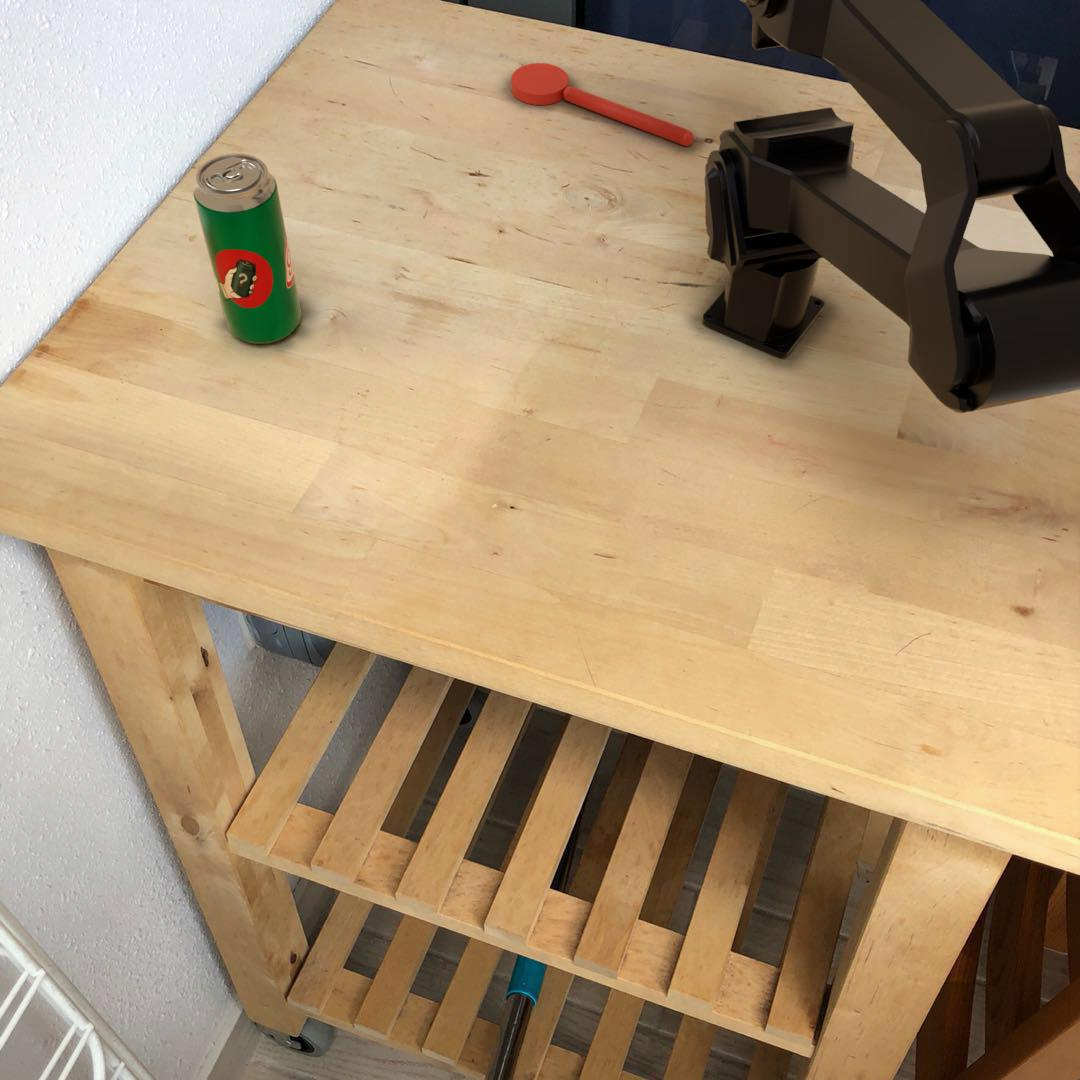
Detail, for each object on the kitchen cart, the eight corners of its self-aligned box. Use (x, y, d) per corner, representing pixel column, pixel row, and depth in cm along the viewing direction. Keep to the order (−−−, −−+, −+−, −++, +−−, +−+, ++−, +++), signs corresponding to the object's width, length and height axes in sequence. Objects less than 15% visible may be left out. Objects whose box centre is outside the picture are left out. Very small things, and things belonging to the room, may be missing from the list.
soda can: (315, 330, 81) (288, 180, 72) (247, 359, 79) (210, 209, 70) (281, 290, 84) (251, 140, 74) (215, 316, 82) (175, 166, 72)
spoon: (706, 132, 96) (708, 119, 95) (677, 161, 94) (678, 148, 93) (531, 67, 102) (532, 54, 101) (500, 93, 99) (499, 80, 98)
